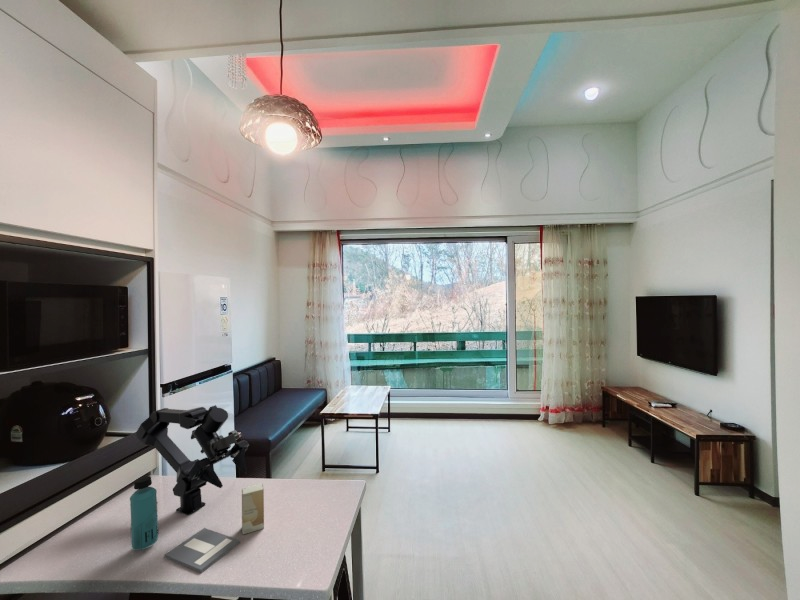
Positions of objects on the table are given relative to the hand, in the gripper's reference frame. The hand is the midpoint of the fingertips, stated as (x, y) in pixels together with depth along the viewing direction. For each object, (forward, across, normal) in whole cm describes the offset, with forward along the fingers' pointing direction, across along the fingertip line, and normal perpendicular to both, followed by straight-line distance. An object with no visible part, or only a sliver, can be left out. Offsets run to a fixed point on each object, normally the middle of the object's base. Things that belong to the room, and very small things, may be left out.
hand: (234, 479), depth 110 cm
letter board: (+11, -12, +8) cm, 18 cm away
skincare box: (+15, 0, +4) cm, 16 cm away
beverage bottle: (-1, -18, +20) cm, 27 cm away
